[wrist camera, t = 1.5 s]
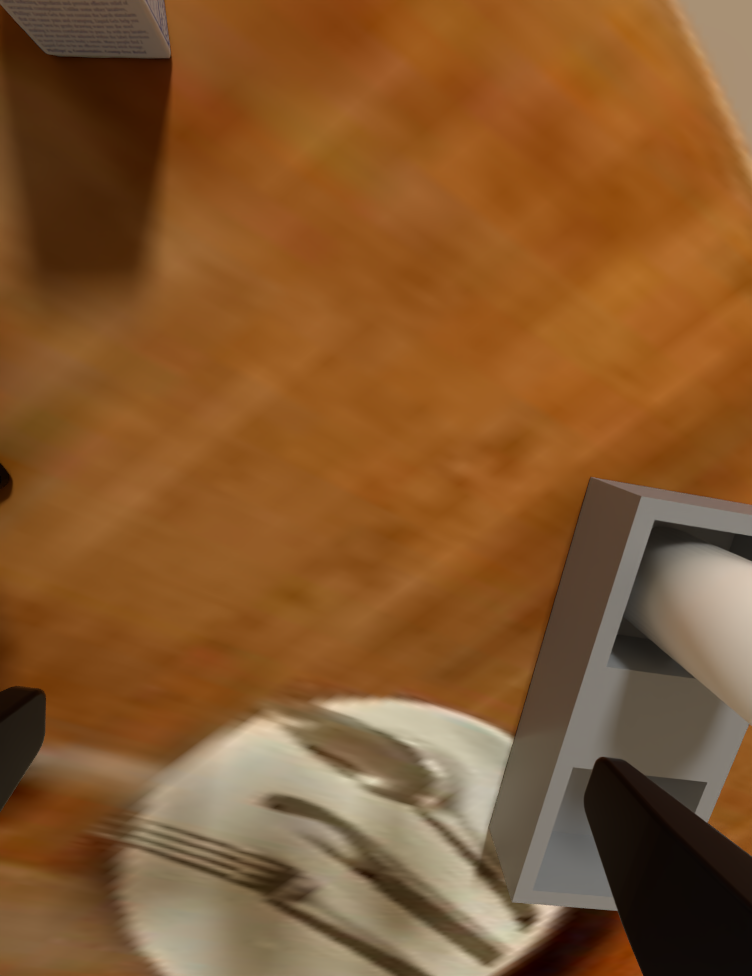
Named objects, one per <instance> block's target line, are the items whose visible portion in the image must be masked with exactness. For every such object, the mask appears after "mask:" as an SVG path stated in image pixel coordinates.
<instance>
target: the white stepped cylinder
mask: <svg viewBox="0 0 752 976" xmlns="http://www.w3.org/2000/svg"><path fill="white" fill-rule="evenodd" d="M623 617H624V618H625V619H626V620H628V621H629V622H630V623H631V624H632V625H633V626H635V627H636V628H637V629H638V630H639V631H641V632H642V633H643V634H644V635H645V636H646V637H648V638H649V639H650V640H651V641H652V642H653V643H655V644H656V645H657V646H658V647H659V648H661V649H662V650H663V651H664V652H665V653H666V654H668V655H669V656H670V657H671V658H672V659H673V660H675V661H676V662H677V663H678V664H679V665H681V666H682V667H683V668H684V669H685V670H686V671H688V672H689V673H690V674H691V675H692V676H694V677H695V678H696V679H697V680H698V681H699V682H701V683H702V684H703V685H704V686H705V687H706V688H708V689H709V690H710V691H711V692H712V693H714V694H715V695H716V696H717V697H718V698H719V699H721V700H722V701H723V702H724V703H725V704H727V705H728V706H729V707H730V708H731V709H732V710H734V711H735V712H736V713H737V714H738V715H739V716H741V717H742V718H743V719H744V720H745V721H747V722H748V723H749V724H750V725H751V726H752V561H750V560H748V559H745V558H743V557H741V556H738V555H736V554H734V553H731V552H729V551H727V550H725V549H722V548H720V547H718V546H715V545H713V544H711V543H709V542H706V541H704V540H702V539H699V538H697V537H695V536H692V535H690V534H688V533H686V532H683V531H681V530H678V529H675V528H670V527H655V528H652V529H651V532H650V535H649V538H648V541H647V544H646V547H645V550H644V553H643V557H642V560H641V563H640V566H639V569H638V572H637V575H636V578H635V581H634V584H633V587H632V590H631V593H630V596H629V599H628V602H627V605H626V608H625V611H624V614H623Z"/></svg>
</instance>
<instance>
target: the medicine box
mask: <svg viewBox="0 0 752 976" xmlns="http://www.w3.org/2000/svg"><path fill="white" fill-rule="evenodd" d="M0 5H1V6H2V7H3V8H4V9H5V10H6V11H7V12H8V13H9V15H10V16H11V17H12V18H13V19H14V20H15V21H16V22H17V23H18V25H19V26H20V27H21V28H22V29H23V30H24V31H25V32H26V33H27V34H28V35H29V37H30V38H31V39H32V40H33V41H34V42H35V43H36V44H37V45H38V46H39V47H40V48H41V49H42V50H43V51H44V52H45V53H46V54H50V55H56V56H75V57H98V58H111V57H116V58H170V55H171V51H170V43H169V35H168V28H167V20H166V12H165V4H164V0H0Z"/></svg>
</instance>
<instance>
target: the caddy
mask: <svg viewBox="0 0 752 976" xmlns="http://www.w3.org/2000/svg"><path fill="white" fill-rule="evenodd" d="M655 527H670V528H675V529H678V530H681V531H683V532H686V533H688V534H690V535H692V536H695V537H697V538H699V539H702V540H704V541H706V542H709V543H711V544H713V545H715V546H718V547H720V548H722V549H725V550H727V551H729V552H731V553H734V554H736V555H738V556H741V557H743V558H745V559H748V560H750V561H752V505H748V504H743V503H737V502H731V501H725V500H719V499H714V498H708V497H702V496H696V495H691V494H685V493H679V492H673V491H668V490H662V489H656V488H650V487H645V486H639V485H633V484H627V483H622V482H616V481H610V480H604V479H599V478H593V477H591V478H590V481H589V485H588V488H587V492H586V495H585V498H584V502H583V505H582V509H581V512H580V516H579V519H578V523H577V526H576V529H575V533H574V536H573V540H572V543H571V547H570V550H569V554H568V557H567V560H566V564H565V567H564V571H563V574H562V578H561V581H560V585H559V588H558V591H557V595H556V598H555V602H554V605H553V609H552V612H551V616H550V619H549V622H548V626H547V629H546V633H545V636H544V640H543V643H542V647H541V650H540V653H539V657H538V660H537V664H536V667H535V671H534V674H533V678H532V681H531V684H530V688H529V691H528V695H527V698H526V702H525V705H524V709H523V712H522V715H521V719H520V722H519V726H518V729H517V733H516V736H515V740H514V743H513V746H512V750H511V753H510V757H509V760H508V764H507V767H506V771H505V774H504V777H503V781H502V784H501V788H500V791H499V795H498V798H497V802H496V805H495V808H494V812H493V815H492V819H491V822H490V826H489V829H490V832H491V836H492V839H493V842H494V845H495V849H496V852H497V855H498V858H499V861H500V865H501V868H502V871H503V874H504V878H505V881H506V884H507V887H508V891H509V894H510V897H511V900H512V902H517V903H529V904H541V905H554V906H566V907H579V908H591V909H603V910H616V911H618V910H617V907H616V905H615V902H614V899H613V896H612V892H611V889H610V886H609V883H608V880H607V877H606V874H605V871H604V868H603V865H602V862H601V859H600V856H599V853H598V850H597V847H596V844H595V841H594V838H593V835H592V832H591V829H590V826H589V823H588V820H587V817H586V814H585V810H584V802H583V799H584V792H585V789H586V787H587V784H588V781H589V778H590V775H591V772H592V769H593V766H594V763H595V761H596V760H597V759H598V758H599V757H610V758H619V759H623V760H625V761H627V762H628V763H629V764H631V765H632V766H633V767H635V768H636V769H637V770H639V771H640V772H641V773H643V774H644V775H645V776H646V777H648V778H649V779H650V780H652V781H653V782H654V783H656V784H657V785H658V786H660V787H661V788H662V789H664V790H665V791H666V792H668V793H669V794H670V795H671V796H673V797H674V798H675V799H677V800H678V801H679V802H681V803H682V804H683V805H685V806H686V807H687V808H689V809H690V810H691V811H693V812H694V813H695V814H696V815H698V816H699V817H700V818H702V819H703V820H704V821H706V822H707V823H708V820H709V818H710V816H711V813H712V811H713V809H714V806H715V804H716V801H717V799H718V797H719V794H720V792H721V790H722V787H723V785H724V782H725V780H726V778H727V775H728V773H729V771H730V768H731V766H732V764H733V761H734V759H735V756H736V754H737V752H738V749H739V747H740V745H741V742H742V740H743V737H744V735H745V733H746V730H747V728H748V726H749V723H748V722H747V721H745V720H744V719H743V718H742V717H741V716H739V715H738V714H737V713H736V712H735V711H734V710H732V709H731V708H730V707H729V706H728V705H727V704H725V703H724V702H723V701H722V700H721V699H719V698H718V697H717V696H716V695H715V694H714V693H712V692H711V691H710V690H709V689H708V688H706V687H705V686H704V685H703V684H702V683H701V682H699V681H698V680H697V679H696V678H695V677H694V676H692V675H691V674H690V673H689V672H688V671H686V670H685V669H684V668H683V667H682V666H681V665H679V664H678V663H677V662H676V661H675V660H673V659H672V658H671V657H670V656H669V655H668V654H666V653H665V652H664V651H663V650H662V649H661V648H659V647H658V646H657V645H656V644H655V643H653V642H652V641H651V640H650V639H649V638H648V637H646V636H645V635H644V634H643V633H642V632H641V631H639V630H638V629H637V628H636V627H635V626H633V625H632V624H631V623H630V622H629V621H628V620H626V619H625V618H624V617H623V614H624V611H625V608H626V605H627V602H628V599H629V596H630V593H631V590H632V587H633V584H634V581H635V578H636V575H637V572H638V569H639V566H640V563H641V560H642V557H643V553H644V550H645V547H646V544H647V541H648V538H649V535H650V532H651V529H652V528H655Z"/></svg>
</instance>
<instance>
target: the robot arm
mask: <svg viewBox="0 0 752 976" xmlns="http://www.w3.org/2000/svg"><path fill="white" fill-rule="evenodd" d="M8 480H9V476H8V473H7V471H6V470H5V468H4V467H3V466H2V465H1V464H0V489H1V488H2V487H4V486H5V485H6V484H7V483H8ZM45 716H46V695H45V693H44V691H43V690H41V689H38V688H30V687H22V686H14V687H11V688H8V689H6V690H3V691H1V692H0V811H1V810H2V808H3V807H4V805H5V804H6V802H7V800H8V799H9V797H10V796H11V794H12V793H13V791H14V789H15V788H16V786H17V785H18V783H19V782H20V780H21V779H22V777H23V775H24V774H25V772H26V771H27V769H28V768H29V766H30V764H31V763H32V761H33V760H34V758H35V757H36V755H37V753H38V752H39V750H40V748H41V746H42V743H43V740H44V736H45ZM583 802H584V810H585V814H586V817H587V820H588V823H589V826H590V829H591V832H592V835H593V838H594V841H595V844H596V847H597V850H598V853H599V856H600V859H601V862H602V865H603V868H604V871H605V874H606V877H607V880H608V883H609V886H610V889H611V892H612V896H613V899H614V902H615V905H616V907H617V910H618V913H619V916H620V919H621V921H622V924H623V927H624V929H625V932H626V934H627V937H628V940H629V942H630V945H631V947H632V950H633V952H634V954H635V957H636V959H637V962H638V964H639V966H640V969H641V971H642V974H643V976H752V856H750V855H749V854H748V853H746V852H745V851H744V850H742V849H741V848H740V847H739V846H737V845H736V844H735V843H733V842H732V841H731V840H729V839H728V838H727V837H725V836H724V835H723V834H721V833H720V832H719V831H717V830H716V829H715V828H714V827H712V826H711V825H710V824H708V823H707V822H706V821H704V820H703V819H702V818H700V817H699V816H698V815H696V814H695V813H694V812H693V811H691V810H690V809H689V808H687V807H686V806H685V805H683V804H682V803H681V802H679V801H678V800H677V799H675V798H674V797H673V796H671V795H670V794H669V793H668V792H666V791H665V790H664V789H662V788H661V787H660V786H658V785H657V784H656V783H654V782H653V781H652V780H650V779H649V778H648V777H646V776H645V775H644V774H643V773H641V772H640V771H639V770H637V769H636V768H635V767H633V766H632V765H631V764H629V763H628V762H627V761H625V760H623V759H619V758H610V757H599V758H598V759H597V760H596V761H595V763H594V766H593V769H592V772H591V775H590V778H589V781H588V784H587V787H586V789H585V792H584V799H583Z"/></svg>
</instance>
